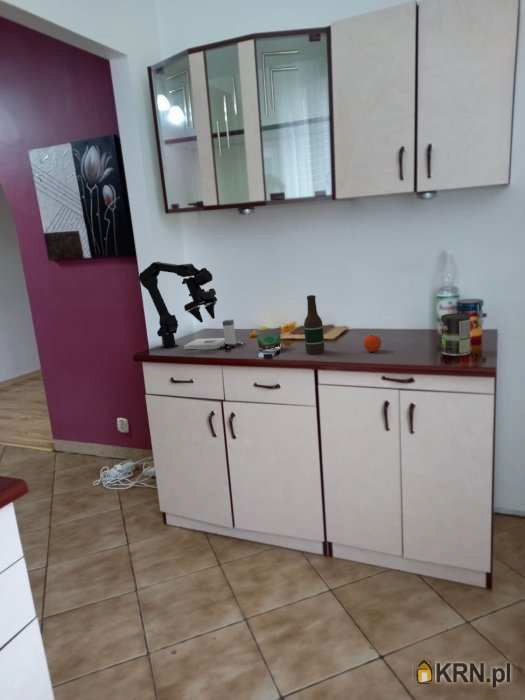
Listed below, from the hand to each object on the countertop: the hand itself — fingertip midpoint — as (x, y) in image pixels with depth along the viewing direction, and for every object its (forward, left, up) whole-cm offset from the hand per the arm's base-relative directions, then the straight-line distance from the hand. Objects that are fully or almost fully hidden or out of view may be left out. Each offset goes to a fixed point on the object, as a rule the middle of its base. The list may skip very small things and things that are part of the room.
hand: (208, 320), depth 245 cm
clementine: (+75, +21, -14) cm, 79 cm away
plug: (+4, +9, -14) cm, 17 cm away
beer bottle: (+53, +11, -14) cm, 56 cm away
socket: (-7, +3, -13) cm, 16 cm away
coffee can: (+105, +30, -14) cm, 110 cm away
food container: (+32, +7, -14) cm, 36 cm away
